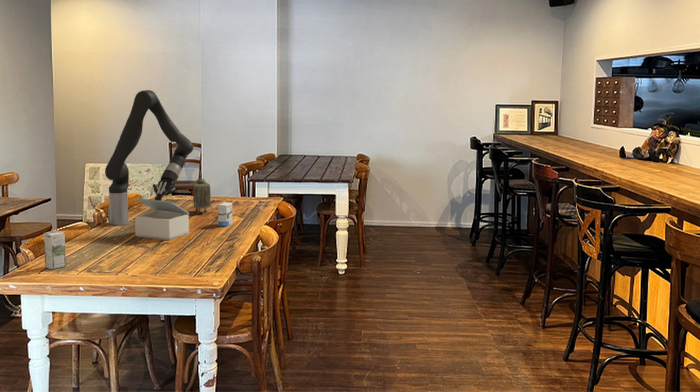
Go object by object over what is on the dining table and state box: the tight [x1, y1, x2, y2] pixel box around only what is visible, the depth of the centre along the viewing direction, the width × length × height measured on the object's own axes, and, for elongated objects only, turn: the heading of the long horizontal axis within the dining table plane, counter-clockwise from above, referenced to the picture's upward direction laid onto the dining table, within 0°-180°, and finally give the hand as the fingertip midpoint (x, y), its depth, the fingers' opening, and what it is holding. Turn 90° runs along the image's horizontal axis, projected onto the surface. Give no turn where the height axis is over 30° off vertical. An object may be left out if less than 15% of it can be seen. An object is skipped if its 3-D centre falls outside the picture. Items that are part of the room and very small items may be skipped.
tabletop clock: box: [192, 170, 212, 215], centre depth 361 cm, size 14×9×25 cm, turn 17°
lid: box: [136, 198, 190, 215], centre depth 305 cm, size 21×16×1 cm
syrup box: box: [43, 230, 67, 270], centre depth 247 cm, size 6×6×14 cm
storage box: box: [134, 210, 190, 241], centre depth 305 cm, size 20×16×10 cm
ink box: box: [217, 201, 233, 228], centre depth 331 cm, size 8×5×12 cm, turn 168°
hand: (156, 201), depth 300 cm, fingers closed
